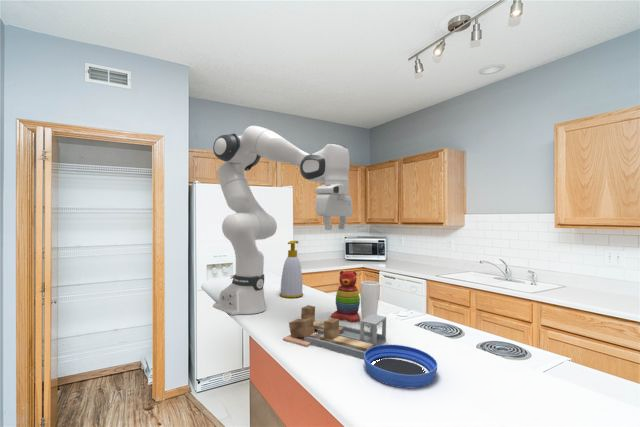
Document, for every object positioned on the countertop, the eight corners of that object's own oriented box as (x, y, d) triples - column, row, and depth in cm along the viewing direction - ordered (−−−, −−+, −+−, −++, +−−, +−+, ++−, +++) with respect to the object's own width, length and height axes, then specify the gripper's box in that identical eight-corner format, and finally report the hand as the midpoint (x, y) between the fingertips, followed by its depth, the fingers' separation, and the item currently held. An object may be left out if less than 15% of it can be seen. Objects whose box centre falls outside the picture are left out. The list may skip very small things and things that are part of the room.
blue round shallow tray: (426, 399, 71) (426, 382, 72) (351, 375, 81) (352, 361, 81) (444, 368, 87) (444, 354, 87) (379, 351, 96) (379, 339, 96)
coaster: (282, 340, 102) (282, 338, 102) (299, 331, 110) (299, 330, 110) (306, 346, 97) (306, 344, 97) (322, 337, 105) (322, 335, 105)
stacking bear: (329, 319, 124) (330, 271, 124) (337, 312, 133) (339, 268, 133) (356, 323, 120) (358, 274, 120) (363, 315, 129) (365, 270, 129)
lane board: (304, 342, 100) (304, 317, 100) (330, 328, 114) (331, 306, 114) (364, 359, 90) (365, 331, 90) (385, 341, 103) (386, 316, 104)
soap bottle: (306, 294, 162) (308, 240, 162) (298, 299, 151) (299, 242, 151) (285, 291, 166) (287, 239, 166) (275, 297, 155) (277, 241, 155)
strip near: (319, 340, 100) (319, 319, 100) (326, 336, 104) (326, 316, 104) (367, 353, 92) (368, 330, 92) (373, 348, 95) (374, 327, 95)
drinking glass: (378, 327, 116) (379, 285, 116) (358, 326, 117) (359, 283, 117) (378, 321, 122) (379, 281, 122) (360, 320, 124) (361, 280, 124)
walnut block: (291, 337, 103) (288, 322, 104) (299, 332, 107) (297, 318, 107) (306, 336, 100) (304, 321, 101) (314, 332, 104) (312, 317, 104)
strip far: (297, 324, 114) (298, 306, 114) (304, 321, 117) (304, 304, 117) (338, 334, 105) (338, 315, 105) (343, 331, 109) (344, 312, 109)
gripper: (342, 192, 126) (341, 228, 126) (312, 187, 108) (311, 229, 108) (357, 192, 122) (356, 229, 122) (329, 187, 105) (328, 230, 105)
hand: (335, 229), depth 115 cm, fingers open, 8 cm apart
